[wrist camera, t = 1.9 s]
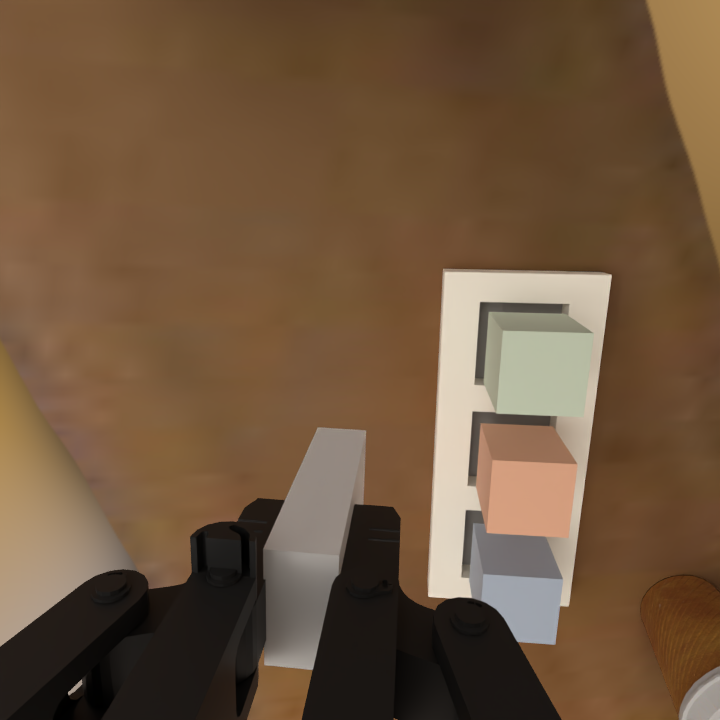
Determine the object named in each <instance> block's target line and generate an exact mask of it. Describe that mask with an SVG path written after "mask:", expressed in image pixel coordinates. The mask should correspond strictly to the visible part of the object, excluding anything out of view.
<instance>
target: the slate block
mask: <svg viewBox="0 0 720 720" xmlns="http://www.w3.org/2000/svg"><path fill="white" fill-rule="evenodd" d="M469 583H470V589H471V596H472V598H473V599H477V600H480V601H483V602H485V603H487V604H489V605H490V606H492V607H493V608H495V609H496V610H497V611H498V612H499V613H500V614H501V615H502V617H503V618H504V619H505V621H506V623H507V624H508V626H509V628H510V630H511V632H512V633H513V635H514V637H515V639H516V640H517V642H526V643H540V644H553V645H555V642H556V634H557V626H558V618H559V610H560V602H561V594H562V586H563V578H562V575H561V573H560V570H559V568H558V565H557V563H556V561H555V558H554V556H553V553H552V551H551V548H550V546H549V543H548V541H547V539H546V537H544V536H527V535H510V534H494V533H487V532H486V528H485V524H478V523H473V535H472V549H471V563H470V576H469Z"/></svg>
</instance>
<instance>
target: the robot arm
mask: <svg viewBox="0 0 720 720" xmlns="http://www.w3.org/2000/svg"><path fill="white" fill-rule="evenodd" d="M365 446H366V430H351V429H335V428H320V427H318V429H317V431H316V433H315V435H314V437H313V440H312V442H311V444H310V446H309V448H308V451H307V453H306V455H305V457H304V460H303V462H302V464H301V466H300V468H299V471H298V473H297V475H296V477H295V480H294V482H293V484H292V486H291V488H290V491H289V493H288V495H287V497H286V500H275V499H261V498H258V499H257V500H255V501H254V502H252V503H251V504H249V505H248V506H246V507H245V508H244V510H243V512H242V513H241V515H240V517H239V519H238V521H237V522H233V521H232V522H218V523H213V524H209V525H206V526H204V527H202V528H200V529H198V530H197V531H196V532H194V533H193V534H192V535H191V536H190V543H191V563H192V573H191V575H190V577H189V578H188V580H187V582H186V583H184V584H180V585H175V586H170V587H163V588H155V589H149V588H148V581H147V579H146V578H145V576H144V575H143V574H141V573H139V572H137V571H133V570H124V569H123V570H114V571H109V572H106V573H103V574H100V575H97V576H95V577H93V578H91V579H90V580H88V581H86V582H84V583H83V584H82V585H80V586H79V587H78V588H77V589H75V590H74V591H73V592H71V593H70V594H69V595H67V596H66V597H65V598H63V599H62V600H61V601H59V602H58V603H57V604H56V605H54V606H53V607H52V608H50V609H49V610H48V611H47V612H45V613H44V614H42V615H41V616H40V617H39V618H37V619H36V620H35V621H33V622H32V623H31V624H29V625H28V626H27V627H25V628H24V629H23V630H21V631H20V632H19V633H18V634H16V635H15V636H14V637H12V638H11V639H10V640H8V641H7V642H6V643H4V644H3V645H2V646H1V647H0V720H247V717H248V714H249V711H250V708H251V705H252V702H253V699H254V696H255V693H256V690H257V687H258V662H259V659H260V656H261V653H262V650H263V647H264V665H269V666H279V667H289V668H299V669H309V670H313V671H312V676H311V680H310V685H309V689H308V694H307V698H306V703H305V707H304V712H303V716H302V720H393V718H395V719H398V720H561V718H560V716H559V714H558V713H557V711H556V709H555V707H554V706H553V704H552V702H551V700H550V699H549V697H548V695H547V693H546V691H545V690H544V688H543V686H542V684H541V683H540V681H539V679H538V677H537V676H536V674H535V672H534V670H533V669H532V667H531V665H530V663H529V661H528V660H527V658H526V656H525V654H524V653H523V651H522V649H521V647H520V646H519V644H518V642H517V640H516V639H515V637H514V635H513V633H512V632H511V630H510V628H509V626H508V624H507V623H506V621H505V619H504V618H503V617H502V615H501V614H500V613H499V612H498V611H497V610H496V609H495V608H493V607H492V606H490V605H489V604H487V603H485V602H483V601H480V600H477V599H473V598H464V597H456V598H452V599H448V600H445V601H444V602H442V603H441V604H439V605H438V606H437V608H436V610H433V609H430V608H427V607H424V606H422V605H419V604H417V603H415V602H414V601H412V600H411V599H409V598H408V597H407V596H406V595H405V594H404V593H403V591H402V590H401V588H400V586H399V580H398V576H399V548H400V521H401V518H400V517H399V515H398V514H397V512H396V511H395V509H394V508H393V507H387V506H373V505H363V499H364V473H365ZM81 679H82V685H81V686H80V687H79V688H78V689H77V690H76V691H75V692H74V693H72V694H71V695H68V692H69V691H70V690H71V689H72V688H73V687H74V686H75V685H76V684H77V683H78V682H79V681H80V680H81Z"/></svg>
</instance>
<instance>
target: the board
mask: <svg viewBox="0 0 720 720" xmlns="http://www.w3.org/2000/svg"><path fill="white" fill-rule="evenodd" d="M611 278H612V275H610V274H607V273H604V272H584V271H532V270H481V269H443V280H442V301H441V321H440V341H439V361H438V381H437V401H436V422H435V442H434V462H433V482H432V502H431V522H430V543H429V563H428V597H438V598H456V597H464V598H472V596H471V589H470V583H469V576H470V563H471V549H472V535H473V523H478V524H484V519H483V515H482V511H481V506H480V502H479V498H478V493H477V489H476V480H477V466H478V453H479V439H480V425H481V423H487V424H510V425H534V426H553V427H554V429H555V430H556V432H557V433H558V435H559V436H560V438H561V439H562V441H563V443H564V444H565V446H566V447H567V449H568V450H569V452H570V453H571V455H572V456H573V458H574V459H575V461H576V462H577V464H578V466H577V474H576V482H575V490H574V498H573V506H572V514H571V522H570V530H569V538H561V537H546V539H547V541H548V543H549V546H550V548H551V551H552V553H553V556H554V558H555V561H556V563H557V565H558V568H559V570H560V573H561V575H562V578H563V586H562V594H561V602H560V606H568V607H569V600H570V593H571V585H572V577H573V570H574V562H575V554H576V546H577V539H578V531H579V523H580V516H581V508H582V500H583V493H584V485H585V477H586V470H587V462H588V454H589V447H590V439H591V431H592V424H593V416H594V408H595V400H596V393H597V385H598V377H599V370H600V362H601V354H602V347H603V339H604V331H605V324H606V316H607V308H608V301H609V293H610V285H611ZM489 312H515V313H554V314H566V315H568V316H569V317H571V318H572V319H574V320H575V321H577V322H578V323H580V324H581V325H583V326H584V327H586V328H587V329H588V330H590V331H591V332H593V333H594V338H593V346H592V354H591V362H590V370H589V378H588V386H587V394H586V402H585V410H584V417H567V416H543V415H519V414H496V412H495V409H494V407H493V404H492V402H491V400H490V397H489V395H488V392H487V390H486V388H485V385H484V370H485V357H486V343H487V329H488V315H489Z"/></svg>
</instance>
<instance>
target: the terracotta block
mask: <svg viewBox="0 0 720 720" xmlns="http://www.w3.org/2000/svg"><path fill="white" fill-rule="evenodd" d="M577 466H578V464H577V462H576V461H575V459H574V458H573V456H572V455H571V453H570V452H569V450H568V449H567V447H566V446H565V444H564V443H563V441H562V439H561V438H560V436H559V435H558V433H557V432H556V430H555V429H554V427H553V426H534V425H510V424H487V423H481V425H480V439H479V453H478V466H477V480H476V489H477V493H478V498H479V502H480V506H481V511H482V515H483V519H484V524H485V528H486V532H487V533H494V534H510V535H527V536H544V537H561V538H569V530H570V522H571V514H572V506H573V498H574V490H575V482H576V474H577Z"/></svg>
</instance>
